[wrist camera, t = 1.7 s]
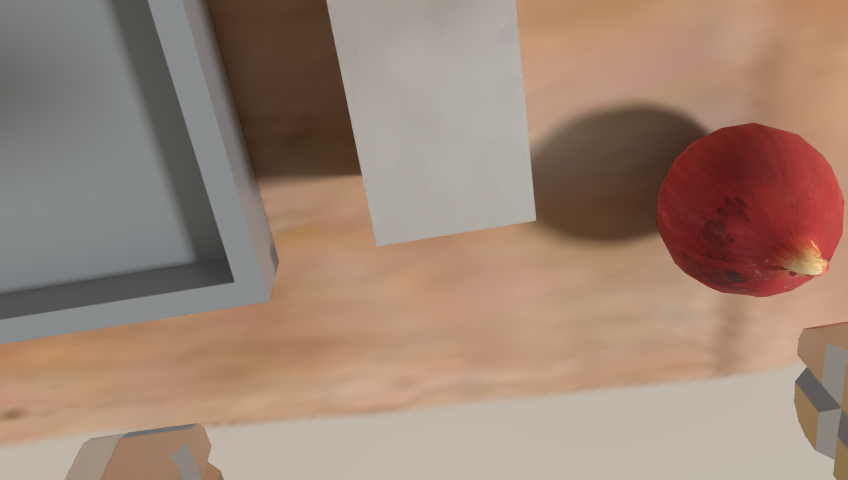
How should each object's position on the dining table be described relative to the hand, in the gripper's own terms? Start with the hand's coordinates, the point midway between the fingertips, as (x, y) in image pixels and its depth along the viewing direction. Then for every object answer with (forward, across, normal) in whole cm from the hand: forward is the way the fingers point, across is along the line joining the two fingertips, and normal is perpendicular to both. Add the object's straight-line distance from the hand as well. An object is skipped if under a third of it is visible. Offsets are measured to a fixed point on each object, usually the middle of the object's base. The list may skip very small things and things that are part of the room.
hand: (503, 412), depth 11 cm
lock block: (+19, 0, 0) cm, 19 cm away
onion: (+19, -10, +6) cm, 22 cm away
